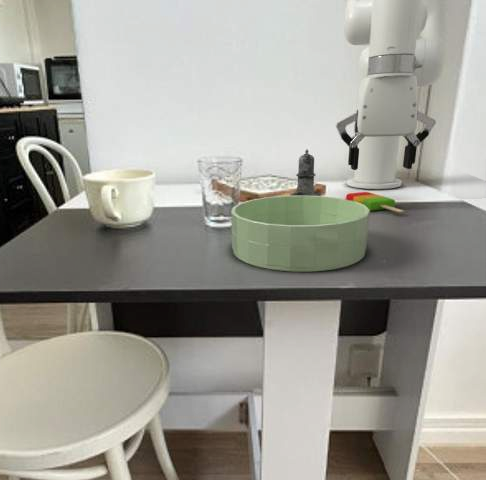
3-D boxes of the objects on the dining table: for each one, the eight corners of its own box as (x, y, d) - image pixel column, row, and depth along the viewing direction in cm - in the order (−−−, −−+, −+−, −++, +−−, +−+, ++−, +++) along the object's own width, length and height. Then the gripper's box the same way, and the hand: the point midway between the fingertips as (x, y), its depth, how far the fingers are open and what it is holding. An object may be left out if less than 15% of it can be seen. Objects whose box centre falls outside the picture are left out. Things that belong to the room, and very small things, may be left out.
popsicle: (366, 199, 93) (366, 190, 93) (414, 215, 80) (415, 205, 79) (343, 202, 92) (343, 193, 91) (388, 218, 78) (389, 208, 78)
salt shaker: (319, 210, 86) (322, 147, 82) (321, 217, 81) (324, 150, 77) (289, 210, 87) (290, 147, 83) (288, 217, 82) (290, 151, 78)
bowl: (236, 231, 74) (236, 196, 72) (351, 230, 72) (354, 194, 70) (227, 271, 57) (226, 226, 55) (379, 272, 54) (384, 225, 52)
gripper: (434, 68, 79) (421, 165, 85) (336, 73, 81) (330, 167, 87) (450, 64, 72) (435, 170, 78) (342, 69, 74) (336, 172, 80)
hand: (380, 168), depth 82 cm, fingers open, 9 cm apart
